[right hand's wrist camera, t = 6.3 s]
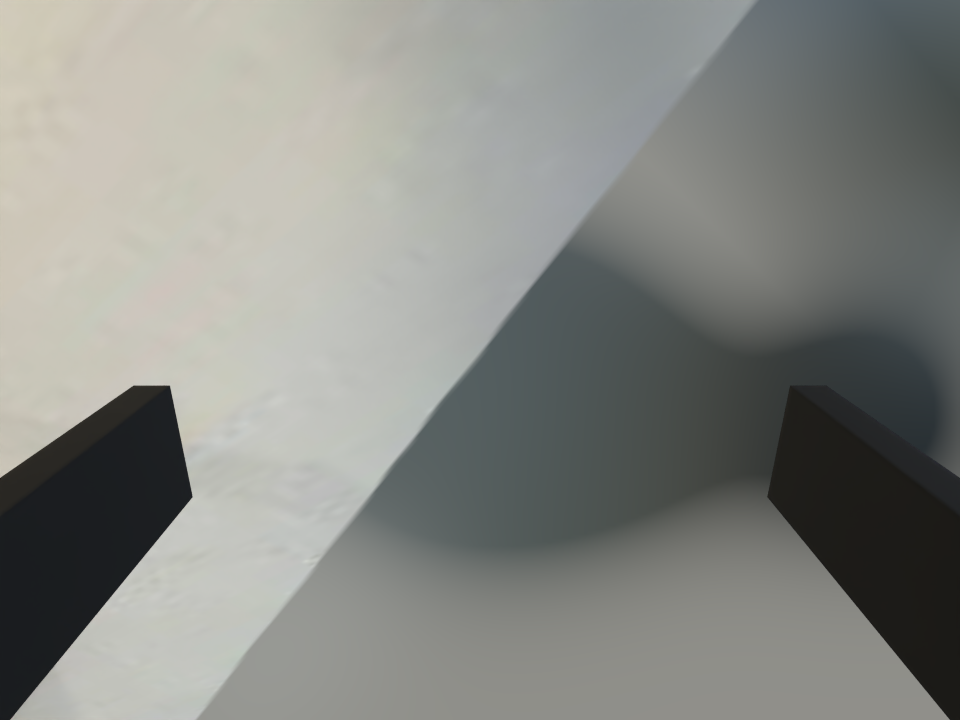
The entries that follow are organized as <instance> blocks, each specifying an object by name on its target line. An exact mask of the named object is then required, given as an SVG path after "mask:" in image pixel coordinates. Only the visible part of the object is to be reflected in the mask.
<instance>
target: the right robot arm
mask: <svg viewBox="0 0 960 720" xmlns="http://www.w3.org/2000/svg"><path fill="white" fill-rule="evenodd" d="M191 498H192V492H191V487H190V482H189V477H188V472H187V467H186V462H185V457H184V453H183V448H182V443H181V438H180V433H179V428H178V423H177V418H176V413H175V408H174V404H173V399H172V394H171V389H170V386H132V387H131V388H130V389H128V390H127V391H125V392H124V393H122V394H121V395H119V396H118V397H117V398H115V399H114V400H112V401H111V402H109V403H108V404H106V405H105V406H104V407H102V408H101V409H99V410H98V411H96V412H95V413H93V414H92V415H91V416H89V417H88V418H86V419H85V420H83V421H82V422H80V423H79V424H78V425H76V426H75V427H73V428H72V429H70V430H69V431H67V432H66V433H65V434H63V435H62V436H60V437H59V438H57V439H56V440H54V441H53V442H51V443H50V444H49V445H47V446H46V447H44V448H43V449H41V450H40V451H38V452H37V453H36V454H34V455H33V456H31V457H30V458H28V459H27V460H25V461H24V462H23V463H21V464H20V465H18V466H17V467H15V468H14V469H12V470H11V471H10V472H8V473H7V474H5V475H4V476H2V477H1V478H0V720H10V719H11V718H12V717H13V716H14V714H15V713H16V712H17V711H18V709H19V708H20V707H21V706H22V705H23V703H24V702H25V701H26V700H27V698H28V697H29V696H30V695H31V694H32V692H33V691H34V690H35V689H36V687H37V686H38V685H39V684H40V683H41V681H42V680H43V679H44V678H45V676H46V675H47V674H48V673H49V672H50V670H51V669H52V668H53V667H54V665H55V664H56V663H57V662H58V661H59V659H60V658H61V657H62V656H63V655H64V653H65V652H66V651H67V650H68V648H69V647H70V646H71V645H72V644H73V642H74V641H75V640H76V639H77V637H78V636H79V635H80V634H81V633H82V631H83V630H84V629H85V628H86V626H87V625H88V624H89V623H90V622H91V620H92V619H93V618H94V617H95V615H96V614H97V613H98V612H99V611H100V609H101V608H102V607H103V606H104V604H105V603H106V602H107V601H108V600H109V598H110V597H111V596H112V595H113V593H114V592H115V591H116V590H117V589H118V587H119V586H120V585H121V584H122V583H123V581H124V580H125V579H126V578H127V576H128V575H129V574H130V573H131V572H132V570H133V569H134V568H135V567H136V565H137V564H138V563H139V562H140V561H141V559H142V558H143V557H144V556H145V554H146V553H147V552H148V551H149V550H150V548H151V547H152V546H153V545H154V543H155V542H156V541H157V540H158V539H159V537H160V536H161V535H162V534H163V532H164V531H165V530H166V529H167V528H168V526H169V525H170V524H171V523H172V521H173V520H174V519H175V518H176V517H177V515H178V514H179V513H180V512H181V511H182V509H183V508H184V507H185V506H186V504H187V503H188V502H189V501H190V500H191ZM768 498H769V500H770V501H771V502H772V503H773V504H774V506H775V507H776V508H777V509H778V510H779V512H780V513H781V514H782V515H783V517H784V518H785V519H786V520H787V521H788V523H789V524H790V525H791V526H792V528H793V529H794V530H795V531H796V532H797V534H798V535H799V536H800V537H801V539H802V540H803V541H804V542H805V543H806V545H807V546H808V547H809V548H810V550H811V551H812V552H813V553H814V554H815V556H816V557H817V558H818V559H819V560H820V562H821V563H822V564H823V565H824V567H825V568H826V569H827V570H828V572H829V573H830V574H831V575H832V576H833V578H834V579H835V580H836V581H837V583H838V584H839V585H840V586H841V587H842V589H843V590H844V591H845V592H846V593H847V595H848V596H849V597H850V598H851V600H852V601H853V602H854V603H855V604H856V606H857V607H858V608H859V609H860V611H861V612H862V613H863V614H864V615H865V617H866V618H867V619H868V620H869V622H870V623H871V624H872V625H873V626H874V628H875V629H876V630H877V631H878V633H879V634H880V635H881V636H882V637H883V639H884V640H885V641H886V642H887V644H888V645H889V646H890V647H891V648H892V650H893V651H894V652H895V653H896V654H897V656H898V657H899V658H900V659H901V661H902V662H903V663H904V664H905V665H906V667H907V668H908V669H909V670H910V672H911V673H912V674H913V675H914V676H915V678H916V679H917V680H918V681H919V683H920V684H921V685H922V686H923V687H924V689H925V690H926V691H927V692H928V693H929V695H930V696H931V697H932V698H933V700H934V701H935V702H936V703H937V705H938V706H939V707H940V708H941V709H942V711H943V712H944V713H945V714H946V716H947V717H948V718H949V719H950V720H960V478H959V477H958V476H956V475H955V474H953V473H952V472H950V471H949V470H948V469H946V468H945V467H943V466H942V465H940V464H939V463H937V462H936V461H934V460H933V459H932V458H930V457H929V456H927V455H926V454H924V453H923V452H922V451H920V450H919V449H917V448H916V447H914V446H913V445H911V444H910V443H908V442H907V441H906V440H904V439H903V438H901V437H900V436H898V435H897V434H895V433H894V432H893V431H891V430H890V429H888V428H887V427H885V426H884V425H882V424H881V423H880V422H878V421H877V420H875V419H874V418H872V417H871V416H869V415H868V414H867V413H865V412H864V411H862V410H861V409H859V408H858V407H856V406H855V405H854V404H852V403H851V402H849V401H848V400H846V399H845V398H843V397H842V396H841V395H839V394H838V393H836V392H835V391H833V390H832V389H830V388H829V387H828V386H790V389H789V394H788V399H787V404H786V408H785V414H784V418H783V423H782V428H781V433H780V438H779V443H778V448H777V453H776V458H775V462H774V467H773V472H772V477H771V482H770V487H769V492H768Z"/></svg>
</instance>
